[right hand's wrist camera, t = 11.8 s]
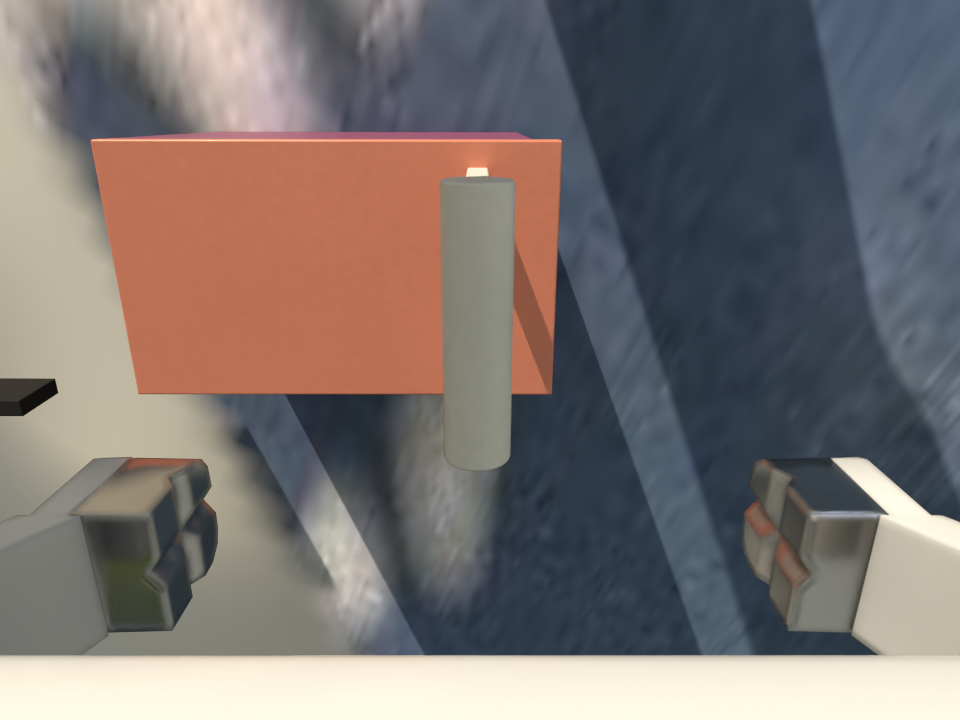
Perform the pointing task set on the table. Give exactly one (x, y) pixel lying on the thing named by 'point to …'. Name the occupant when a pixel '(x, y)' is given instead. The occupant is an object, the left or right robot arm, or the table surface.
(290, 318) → the lid
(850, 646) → the table surface
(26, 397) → the left robot arm
